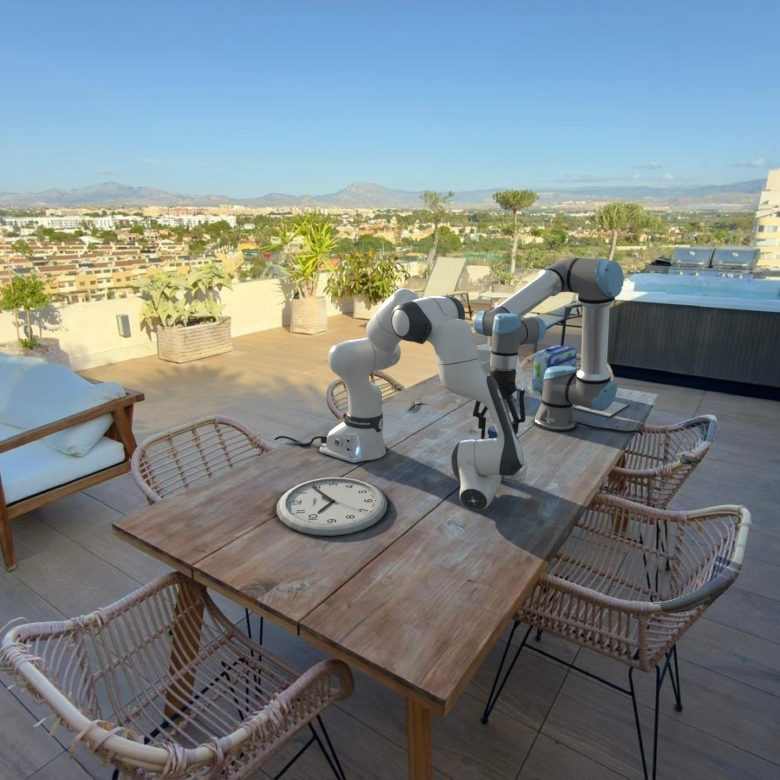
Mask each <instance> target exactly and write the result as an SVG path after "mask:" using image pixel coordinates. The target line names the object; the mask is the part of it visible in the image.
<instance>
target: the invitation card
mask: <svg viewBox="0 0 780 780" xmlns="http://www.w3.org/2000/svg"><path fill="white" fill-rule="evenodd" d="M628 406H629V404H627V403H623V402H618V401H614V400H613V402H612V404H611V405H610V406H609V407H608V408H607V409H606V410H604V411H597V410H591V409H589V408H586V407H582V406H578V405H575V406H574V407H573V409H575V410H581V411H584V412H587V413H593V414H596V415H600V416H604V417H608V418H609V417H611V416H613V415H614V414H616V413H617V412H619V411H621V410H623V409H624V408H626V407H628Z"/></svg>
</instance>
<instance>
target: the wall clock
mask: <svg viewBox="0 0 780 780" xmlns="http://www.w3.org/2000/svg"><path fill="white" fill-rule="evenodd" d="M387 509H388V500H387V498H386V496H385V494H384V493H383V492H382V491H381V490H380V489H379V488H377V487H376V486H374V485H372V484H371V483H369V482H365V481H362V480H359V479H355V478H349V477H338V476H337V477H335V476H333V477H332V476H331V477H322V478H317V479H312V480H307V481H305V482H302V483H299V484H297V485H295V486H293V487H292V488H290V489H288V490H287V491H286V492H285V493H284V494H283V495H281V496H280V498H279V499H278V502H277V503H276V515H277V517H278V518H279V520H280V521H281V522H282V523H283V524H285V525H286V526H287V527H288V528H290V529H293V530H295V531H297V532H299V533H303V534H308V535H312V536H327V537H328V536H329V537H331V536H332V537H333V536H342V535H350V534H352V533H356V532H361V531H363V530H366V529H368V528H369V527H372V526H373V525H375V524H376V523H378V522H379V521H380V520H381V519H382V518H383V517H384V516H385V514H386V512H387Z"/></svg>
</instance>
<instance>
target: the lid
mask: <svg viewBox="0 0 780 780" xmlns="http://www.w3.org/2000/svg"><path fill="white" fill-rule="evenodd" d="M487 435H488V436H489V435H490V436H492V437H498V435H497V432H496V429H495V427H494V425H490V426H488V427H487Z"/></svg>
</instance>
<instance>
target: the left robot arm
mask: <svg viewBox="0 0 780 780" xmlns="http://www.w3.org/2000/svg"><path fill="white" fill-rule="evenodd" d="M465 319H466V311H465V307H464V305H463V303H462V301H461V300H460V299H458V298H457V297H454V296H451V295H438V296H426V297H422V298H420V296H419V294H417V293H416V292H415V291H414V290H412V289H410V288H399V289H397V290H395V291H394V292H393V293H391V294H390V295H389V296H388V297H387V298H386V299H385V300H384V301H383V302H382V303H381V305H380V306H379V307H378V308H377V310H376V311H375V313H374V314H373V315H372V316H371V318H370V319H369V321H368V322H367V324H366V331H365V332H366V337H363V338H358V339H351V340H345V341H341V342H339V343H337V344H335V345H332V346H331V348H330V349H329V351H328V354H327V363H328V366H329V368H330V371H332V372H333V374H334V375H336V376H338V377H339V378H340V379H341V380H342V382H343V383H344V385H345V388H346V392H347V406H348V408H347V409H346V411H344V412H343V414H342V415H341V420H342V419H343V421H341V422H340V423H339V424H337V425H335V426H334V427H333V428H332V429H331V430H329V431H325V432H324V433H323V434H321V435H317V436H314V437H312V439H311V440H310V441H309V442H307V443H301V442H300V440H298V439H295V438H292V437H289V436H286V435H279V436H277V437H275V438H274V439H273V441H278V440H279V439H286V440H289V441H292V442H295V443H296V444H297V445H298V446H302V447H306V446H309V445H312V444H313V443H314V441H316V440H317V439H320V443H321V445H320V447H319V453H322V454H324V455H328V456H330V457H334V458H336V459H340V460H343V461H347V462H350V463H355V464H356V463H359V462H365V461H374V460H377V459H380V458H382V457H384V456H385V455H386V453H387V449H386V446H385V441H384V436H383V435H384V434H383V429H384V412H383V411H382V410H383V392H382V390H381V388H380V387H379V386H378V385H377V383H374V382H371V380H370V373H373V372H379V371H384V370H387V369H389V368H391V367H393V366H396V365H397V364H398V363H399V361H400V359H401V355H402V351H401V350H402V349H401V346H400V342H401V341H405V342H409V343H410V342H411V343H416V344H419V345H423V344H425V343H426V342H429V343H430V344H431V346H433V349H434V352H435V359H436V365H437V373H438V377H439V380H440V382H441V385H443V387H444V388H445V389H446V390H447V391H449V392H450V393H452V394H453V395H454V394H455V395H456V396H460V397H462V398H463V397H464V398H466V399H471V400H474V401H476V400H477V401H479V402H481V404H482V405H484V406H486V407H487V408H488V410H487V411H488V412H489V414H490V418H491V420H492V423H493V426H494V427H495V429H496V432H497V435H498V437H497V438H488V437H487V438H484V439H481V438H472V439H461V440H460V441H458V442H457V443H456V445H455V447H454V448H453V451H452V453H451V459H450V460H451V469H452V471H453V472H452V473H453V475H454V477H455V478H456V480H457V481H458V482H459V483H460V485H459V486H460V487H459V493H458V494H459V495H458V496H459V501H460V503H461V504H462V506H463V507H464V508H466V509H468V510H470V511H474V512H475V511H476V512H479V511H484V510H485V509H487V508H488V507H489V506H490V505H491V503H492V502H493V500H494V499H495V496H496V494H497V492H498V491H497V490H498V489H499V487H500V485H501V483H502V481H503V482H509V483H513V484H519V483H521V482H524V481H525V480H526V476H527V472H528V464H527V463H525V453H524V450H523V446H522V445H521V442H520V439H519V437H518V436H517V434H516V433H515V430H514V427H513V425H512V419H511V415H510V413H509V410H508V407H507V405H506V400H504V399H503V396H502V393H501V391H500V388H499V386H498V384H497V382H496V380H495V379H494V378H493V377H491V376H489V374H486V372H485V371H484V370H483V368H482V366H481V363H480V360H479V354H478V349H477V346H478V345H477V342H476V338H475V334H474V332H473V329H472V327H471V325H470V323H469V322H468V321H467V320H465Z"/></svg>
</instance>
